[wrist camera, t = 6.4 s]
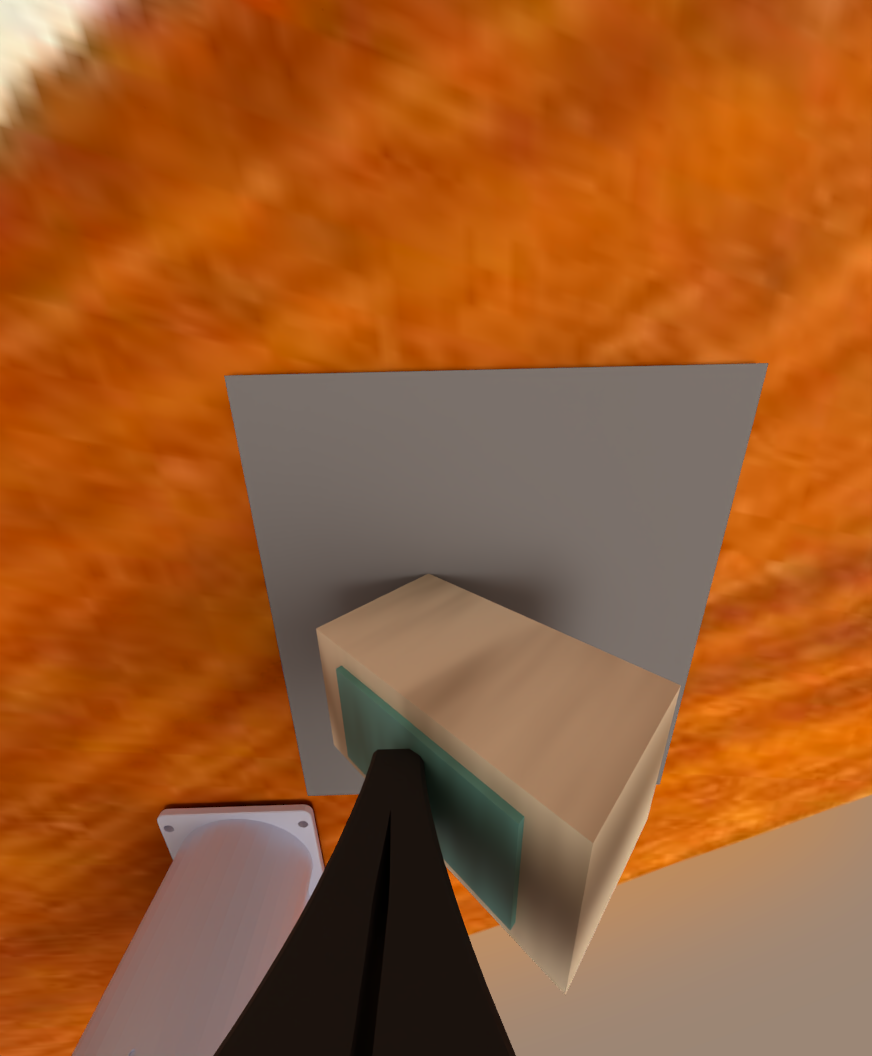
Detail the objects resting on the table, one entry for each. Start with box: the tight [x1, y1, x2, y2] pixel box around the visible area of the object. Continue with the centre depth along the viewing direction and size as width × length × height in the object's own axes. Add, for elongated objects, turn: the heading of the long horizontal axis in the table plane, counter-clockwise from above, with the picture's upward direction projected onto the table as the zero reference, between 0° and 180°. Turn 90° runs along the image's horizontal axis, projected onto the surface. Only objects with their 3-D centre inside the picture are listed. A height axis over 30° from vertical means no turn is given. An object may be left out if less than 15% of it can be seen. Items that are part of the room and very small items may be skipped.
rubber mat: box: [224, 363, 768, 796], centre depth 17 cm, size 20×18×1 cm
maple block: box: [316, 574, 681, 994], centre depth 12 cm, size 5×5×9 cm
